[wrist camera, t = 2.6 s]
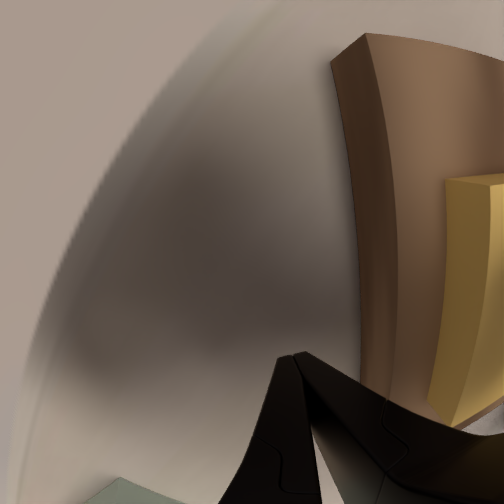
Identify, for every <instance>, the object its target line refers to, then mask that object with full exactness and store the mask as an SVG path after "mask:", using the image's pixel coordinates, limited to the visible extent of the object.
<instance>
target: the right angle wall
mask: <svg viewBox="0 0 504 504" xmlns="http://www.w3.org/2000/svg"><path fill="white" fill-rule="evenodd" d="M84 504H186V503H183V502H180V501H177V500H174V499H171V498H169V497H166V496H163V495H161V494H158V493H156V492H153V491H151V490H148V489H146V488H144V487H141V486H139V485H137V484H134V483H132V482H130V481H128V480H126V479H124V478H121V477H120V478H119V479H117V480H116V481H115V482H113V483H112V484H110V485H109V486H108V487H106V488H105V489H104V490H102V491H101V492H99V493H98V494H97V495H95V496H94V497H92V498H91V499H89V500H88V501H86V502H85V503H84Z"/></svg>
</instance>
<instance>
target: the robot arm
mask: <svg viewBox="0 0 504 504" xmlns="http://www.w3.org/2000/svg"><path fill="white" fill-rule="evenodd" d="M312 434H313V436H314V438H315V441H316V443H317V445H318V447H319V449H320V452H321V454H322V456H323V458H324V460H325V463H326V465H327V467H328V469H329V471H330V473H331V476H332V478H333V480H334V482H335V484H336V486H337V489H338V491H339V493H340V495H341V497H342V499H343V501H344V504H504V433H500V434H496V435H488V436H483V435H475V434H470V433H467V432H464V431H461V430H458V429H455V428H452V427H450V426H447V425H444V424H441V423H438V422H436V421H433V420H430V419H428V418H426V417H423V416H421V415H418V414H416V413H414V412H412V411H410V410H408V409H406V408H404V407H402V406H400V405H398V404H396V403H394V402H392V401H390V400H387V399H386V398H385V397H383V396H381V395H380V394H378V393H376V392H374V391H373V390H371V389H369V388H367V387H366V386H364V385H362V384H360V383H359V382H357V381H355V380H353V379H352V378H350V377H348V376H347V375H345V374H343V373H342V372H340V371H338V370H337V369H335V368H333V367H332V366H330V365H328V364H327V363H325V362H323V361H322V360H320V359H318V358H317V357H315V356H313V355H312V354H310V353H309V352H307V351H304V352H300V353H295V354H293V356H292V355H287V356H282V357H279V358H278V359H277V362H276V365H275V368H274V371H273V374H272V378H271V381H270V384H269V387H268V390H267V393H266V396H265V399H264V402H263V405H262V408H261V411H260V414H259V417H258V420H257V423H256V426H255V429H254V432H253V436H252V437H251V440H250V443H249V446H248V448H247V451H246V453H245V456H244V458H243V461H242V463H241V465H240V467H239V468H238V470H237V472H236V474H235V476H234V478H233V480H232V481H231V483H230V485H229V486H228V488H227V490H226V491H225V493H224V495H223V496H222V498H221V500H220V501H219V503H218V504H322V498H321V491H320V484H319V477H318V470H317V463H316V456H315V450H314V443H313V437H312Z"/></svg>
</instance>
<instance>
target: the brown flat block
mask: <svg viewBox="0 0 504 504" xmlns="http://www.w3.org/2000/svg"><path fill="white" fill-rule="evenodd" d="M331 66H332V71H333V75H334V80H335V85H336V89H337V94H338V99H339V104H340V110H341V115H342V120H343V126H344V132H345V138H346V144H347V151H348V158H349V165H350V172H351V180H352V188H353V197H354V206H355V216H356V227H357V239H358V253H359V270H360V293H361V375H360V384H362V385H364V386H366V387H367V388H369V389H371V390H373V391H374V392H376V393H378V394H380V395H381V396H383V397H385V398H386V399H387V400H390V401H392V402H394V403H396V404H398V405H400V406H402V407H404V408H406V409H408V410H410V411H412V412H414V413H416V414H418V415H421V416H423V417H426V418H428V419H430V420H433V421H436V422H438V423H441V424H444V425H446V424H445V423H444V421H443V420H442V419H441V418H440V416H439V415H438V414H437V413H436V411H435V410H434V409H433V408H432V406H431V405H430V404H429V403H428V401H427V396H428V392H429V387H430V383H431V378H432V374H433V369H434V363H435V358H436V352H437V346H438V340H439V333H440V326H441V319H442V310H443V300H444V289H445V275H446V253H447V211H446V189H445V179H449V178H458V177H468V176H478V175H489V174H500V173H504V61H501V60H498V59H495V58H492V57H489V56H486V55H482V54H479V53H476V52H472V51H468V50H464V49H461V48H457V47H452V46H448V45H444V44H439V43H434V42H429V41H424V40H418V39H412V38H405V37H398V36H391V35H382V34H372V33H364V34H363V35H362V36H361V37H359V38H358V39H357V40H356V41H355V42H353V43H352V44H351V45H350V46H348V47H347V48H346V49H345V50H344V51H342V52H341V53H340V54H339V55H338V56H337V57H335V58H334V59H333V60H332V61H331ZM503 402H504V396H502V397H501V398H499V399H498V400H496V401H495V402H493V403H492V404H490V405H489V406H487V407H486V408H484V409H483V410H481V411H480V412H478V413H476V414H475V415H473V416H471V417H470V418H468V419H466V420H465V421H463V422H461V423H459V424H458V425H456V426H454V427H452V428H455V429H458V430H461V429H463V428H465V427H466V426H468V425H470V424H471V423H473V422H475V421H476V420H478V419H479V418H481V417H483V416H484V415H486V414H487V413H489V412H490V411H492V410H493V409H495V408H496V407H498V406H499V405H500V404H502V403H503Z"/></svg>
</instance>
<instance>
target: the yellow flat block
mask: <svg viewBox="0 0 504 504" xmlns="http://www.w3.org/2000/svg"><path fill="white" fill-rule="evenodd" d="M445 189H446V211H447V253H446V275H445V289H444V300H443V310H442V319H441V326H440V333H439V340H438V346H437V352H436V358H435V363H434V369H433V374H432V378H431V383H430V387H429V392H428V396H427V401H428V403H429V404H430V405H431V406H432V408H433V409H434V410H435V411H436V413H437V414H438V415H439V416H440V418H441V419H442V420H443V421H444V423H445V424H446V425H447V426H450V427H454V426H456V425H458V424H459V423H461V422H463V421H465V420H466V419H468V418H470V417H471V416H473V415H475V414H476V413H478V412H480V411H481V410H483V409H484V408H486V407H487V406H489V405H490V404H492V403H493V402H495V401H496V400H498V399H499V398H501V397H502V396H504V173H500V174H489V175H478V176H468V177H458V178H449V179H445Z"/></svg>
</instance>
